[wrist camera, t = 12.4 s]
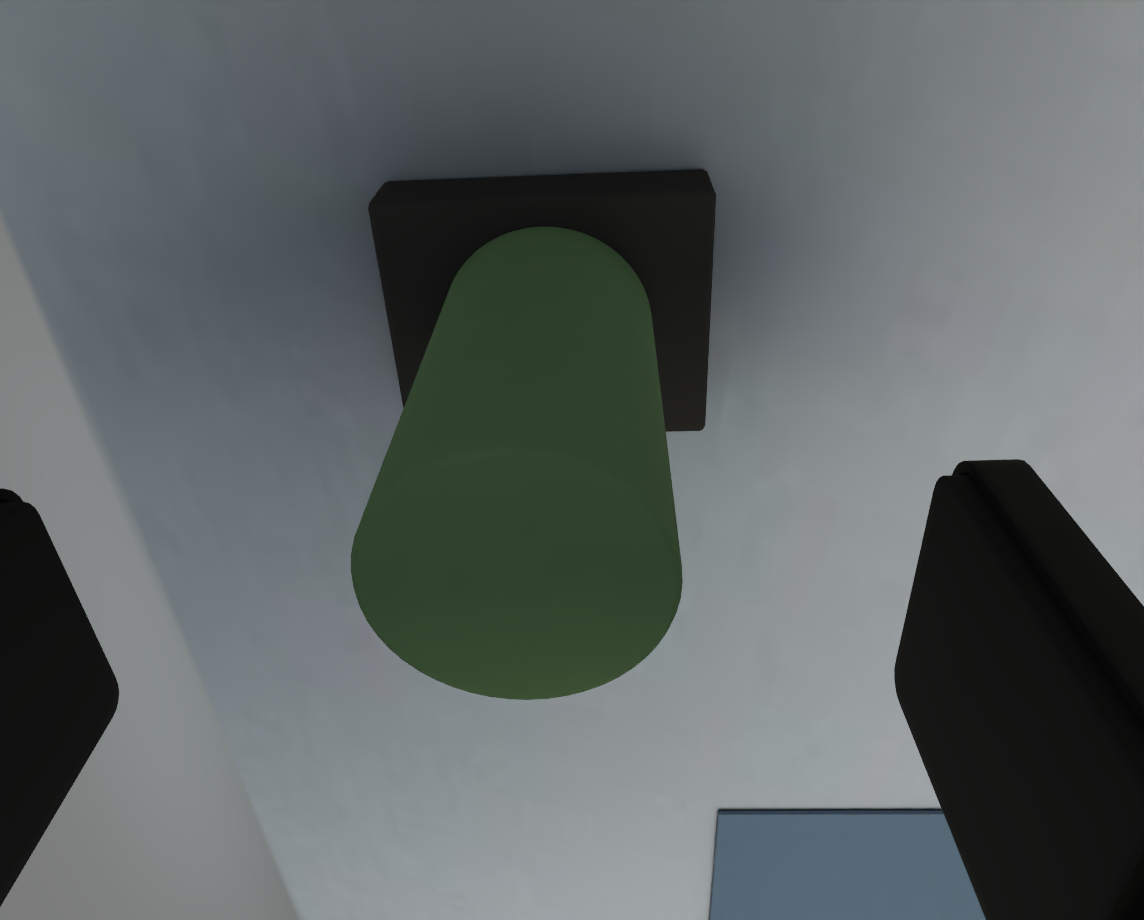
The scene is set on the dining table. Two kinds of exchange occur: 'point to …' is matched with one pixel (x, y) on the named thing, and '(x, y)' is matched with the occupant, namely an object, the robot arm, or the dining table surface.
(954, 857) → the napkin
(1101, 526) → the dining table surface
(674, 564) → the stamp
